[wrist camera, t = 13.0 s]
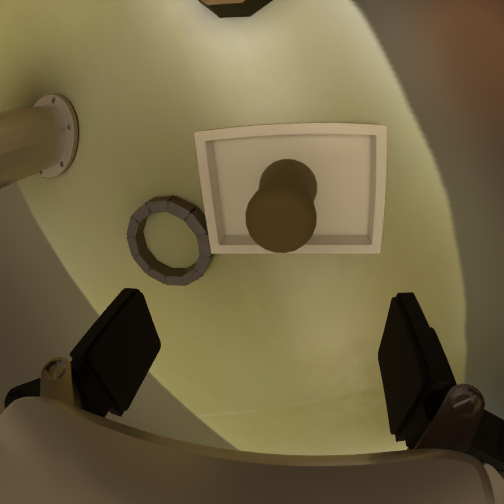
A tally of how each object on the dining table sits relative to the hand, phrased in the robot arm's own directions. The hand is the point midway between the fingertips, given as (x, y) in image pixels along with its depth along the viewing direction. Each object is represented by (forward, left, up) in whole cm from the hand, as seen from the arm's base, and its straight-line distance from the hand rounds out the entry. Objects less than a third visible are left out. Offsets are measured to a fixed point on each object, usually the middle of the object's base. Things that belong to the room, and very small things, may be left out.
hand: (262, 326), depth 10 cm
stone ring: (-15, -6, -22) cm, 27 cm away
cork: (0, 0, -21) cm, 21 cm away
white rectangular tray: (0, 0, -22) cm, 22 cm away
